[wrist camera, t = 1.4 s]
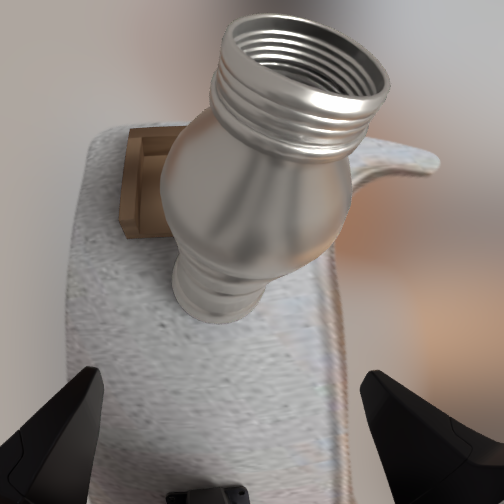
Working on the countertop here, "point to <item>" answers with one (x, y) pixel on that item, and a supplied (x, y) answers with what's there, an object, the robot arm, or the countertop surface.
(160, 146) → the bottle stand
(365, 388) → the robot arm
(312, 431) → the countertop surface
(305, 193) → the silver metal bottle
